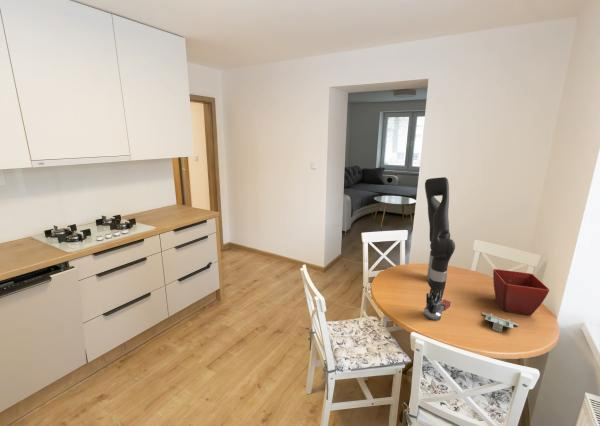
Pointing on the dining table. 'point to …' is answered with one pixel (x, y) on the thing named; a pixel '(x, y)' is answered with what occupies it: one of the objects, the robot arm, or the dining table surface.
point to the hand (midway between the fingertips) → (433, 308)
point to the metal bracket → (499, 322)
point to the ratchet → (437, 316)
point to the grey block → (436, 305)
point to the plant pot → (518, 291)
